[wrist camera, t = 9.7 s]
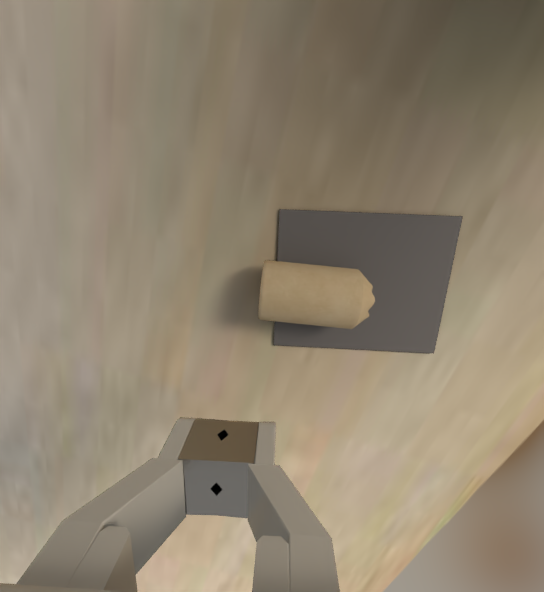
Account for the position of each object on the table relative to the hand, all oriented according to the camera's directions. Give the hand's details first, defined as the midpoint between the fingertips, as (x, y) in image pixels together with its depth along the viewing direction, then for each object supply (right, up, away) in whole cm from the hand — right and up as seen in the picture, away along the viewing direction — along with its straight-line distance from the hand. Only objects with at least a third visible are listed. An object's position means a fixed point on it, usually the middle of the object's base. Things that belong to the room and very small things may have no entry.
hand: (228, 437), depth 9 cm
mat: (+10, +6, +20) cm, 23 cm away
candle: (0, +5, +18) cm, 18 cm away
